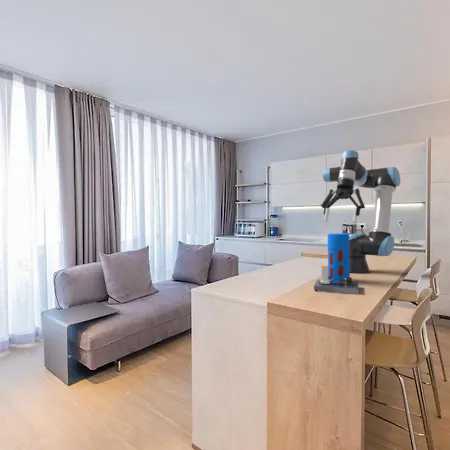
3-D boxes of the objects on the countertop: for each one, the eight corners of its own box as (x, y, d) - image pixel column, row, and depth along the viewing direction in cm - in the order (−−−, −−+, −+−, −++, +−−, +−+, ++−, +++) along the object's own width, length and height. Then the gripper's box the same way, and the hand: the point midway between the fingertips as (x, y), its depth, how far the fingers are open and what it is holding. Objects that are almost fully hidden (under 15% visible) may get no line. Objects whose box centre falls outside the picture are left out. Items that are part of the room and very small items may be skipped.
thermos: (351, 282, 156) (351, 234, 155) (329, 282, 158) (329, 234, 157) (347, 278, 167) (346, 233, 166) (327, 278, 169) (326, 233, 168)
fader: (321, 281, 148) (321, 264, 148) (330, 281, 147) (329, 265, 146) (320, 283, 143) (320, 266, 143) (329, 283, 142) (328, 266, 142)
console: (317, 284, 155) (317, 275, 154) (358, 286, 147) (358, 277, 147) (314, 291, 141) (313, 281, 141) (358, 294, 134) (358, 284, 134)
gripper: (318, 179, 154) (311, 218, 149) (371, 175, 138) (365, 219, 133) (324, 185, 159) (317, 223, 155) (375, 182, 143) (369, 225, 138)
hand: (339, 221), depth 144 cm, fingers open, 13 cm apart
